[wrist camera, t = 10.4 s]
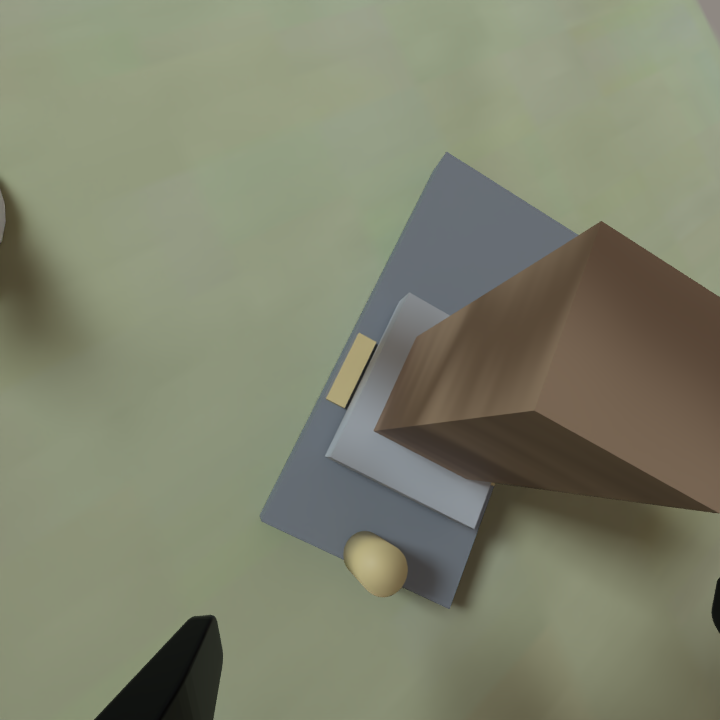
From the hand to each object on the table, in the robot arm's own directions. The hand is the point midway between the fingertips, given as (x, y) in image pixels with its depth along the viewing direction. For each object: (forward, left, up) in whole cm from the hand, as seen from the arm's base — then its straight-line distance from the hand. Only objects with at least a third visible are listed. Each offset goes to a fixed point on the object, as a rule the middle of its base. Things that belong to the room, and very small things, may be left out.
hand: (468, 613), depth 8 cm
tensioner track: (+6, -5, -11) cm, 13 cm away
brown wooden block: (+4, -3, -9) cm, 11 cm away
